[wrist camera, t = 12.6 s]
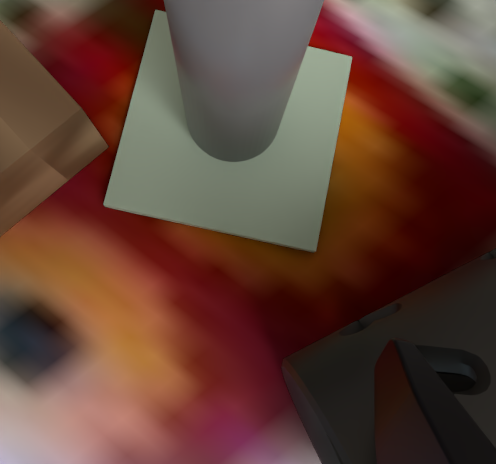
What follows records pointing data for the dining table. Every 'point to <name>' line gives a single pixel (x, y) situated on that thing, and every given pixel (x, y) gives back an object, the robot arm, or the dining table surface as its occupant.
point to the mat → (223, 172)
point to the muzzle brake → (371, 346)
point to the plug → (238, 68)
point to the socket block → (37, 133)
